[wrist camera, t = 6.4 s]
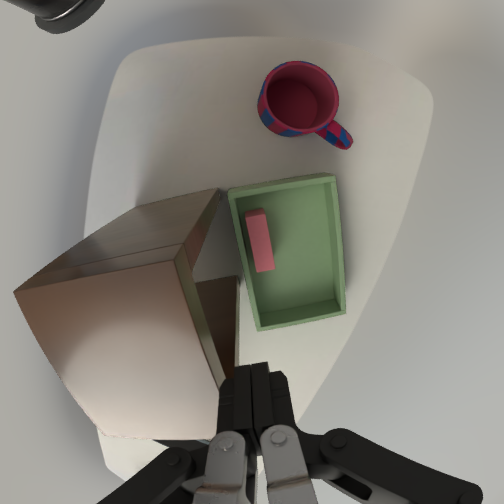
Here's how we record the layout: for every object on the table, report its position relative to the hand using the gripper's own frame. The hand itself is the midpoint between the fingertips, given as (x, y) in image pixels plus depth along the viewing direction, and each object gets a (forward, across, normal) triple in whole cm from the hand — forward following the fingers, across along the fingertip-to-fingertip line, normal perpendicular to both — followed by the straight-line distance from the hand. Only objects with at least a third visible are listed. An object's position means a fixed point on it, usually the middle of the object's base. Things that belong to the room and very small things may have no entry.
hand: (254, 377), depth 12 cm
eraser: (+20, -2, 0) cm, 20 cm away
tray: (+22, -4, +2) cm, 22 cm away
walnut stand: (+22, +7, 0) cm, 23 cm away
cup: (+22, -8, -12) cm, 26 cm away
